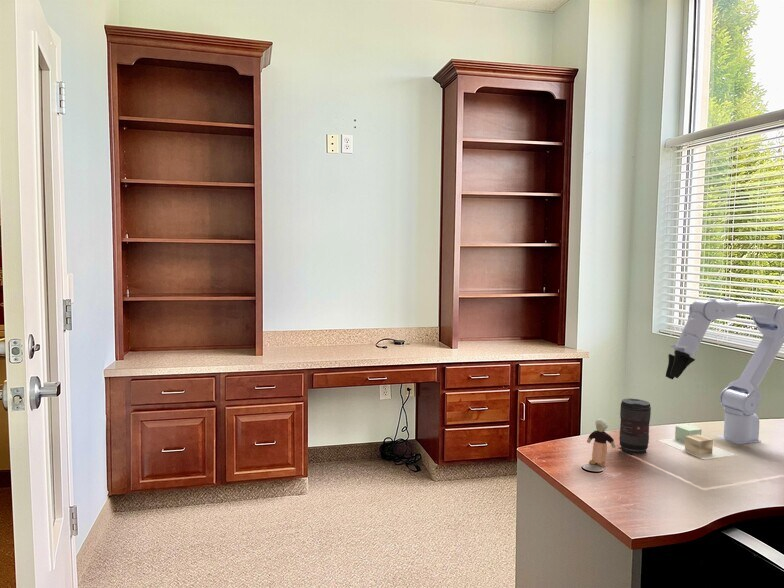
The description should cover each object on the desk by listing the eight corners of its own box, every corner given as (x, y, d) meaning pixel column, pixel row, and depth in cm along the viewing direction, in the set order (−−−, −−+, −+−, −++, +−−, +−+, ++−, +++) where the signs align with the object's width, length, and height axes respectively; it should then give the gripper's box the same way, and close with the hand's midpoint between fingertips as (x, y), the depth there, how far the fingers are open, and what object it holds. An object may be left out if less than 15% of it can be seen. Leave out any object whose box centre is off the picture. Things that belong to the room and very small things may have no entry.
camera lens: (652, 457, 163) (654, 405, 162) (622, 455, 164) (624, 404, 163) (644, 447, 171) (646, 398, 170) (616, 446, 172) (617, 397, 171)
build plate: (687, 438, 180) (687, 436, 180) (735, 456, 164) (735, 454, 164) (657, 442, 176) (657, 440, 176) (703, 461, 160) (703, 459, 160)
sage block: (687, 436, 179) (688, 424, 179) (700, 442, 174) (701, 429, 174) (675, 438, 177) (675, 425, 177) (688, 443, 173) (688, 430, 172)
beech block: (697, 447, 169) (698, 434, 169) (712, 453, 165) (713, 439, 164) (684, 449, 168) (685, 436, 168) (699, 455, 163) (699, 441, 163)
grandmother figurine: (584, 463, 157) (585, 418, 156) (586, 459, 161) (588, 415, 160) (614, 469, 154) (615, 422, 153) (615, 464, 157) (617, 419, 156)
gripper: (673, 333, 179) (654, 372, 178) (683, 327, 165) (662, 369, 165) (696, 344, 177) (676, 383, 176) (708, 338, 163) (687, 381, 162)
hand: (671, 377), depth 170 cm, fingers open, 7 cm apart
